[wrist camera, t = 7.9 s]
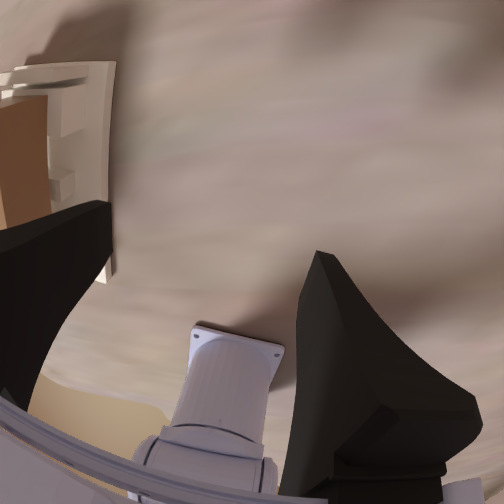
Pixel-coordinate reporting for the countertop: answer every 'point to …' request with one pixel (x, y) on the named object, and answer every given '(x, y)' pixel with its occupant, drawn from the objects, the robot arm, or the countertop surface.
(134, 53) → the countertop surface
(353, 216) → the countertop surface
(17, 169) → the tan wooden plank
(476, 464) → the countertop surface
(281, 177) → the countertop surface
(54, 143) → the display stand
